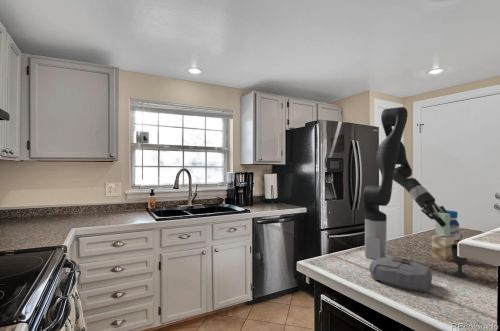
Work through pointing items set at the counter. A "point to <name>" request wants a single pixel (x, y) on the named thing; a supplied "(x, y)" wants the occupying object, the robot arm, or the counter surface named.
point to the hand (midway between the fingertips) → (447, 225)
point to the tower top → (442, 242)
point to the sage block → (446, 228)
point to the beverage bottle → (453, 225)
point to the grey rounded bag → (401, 273)
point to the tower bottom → (442, 254)
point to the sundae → (458, 260)
